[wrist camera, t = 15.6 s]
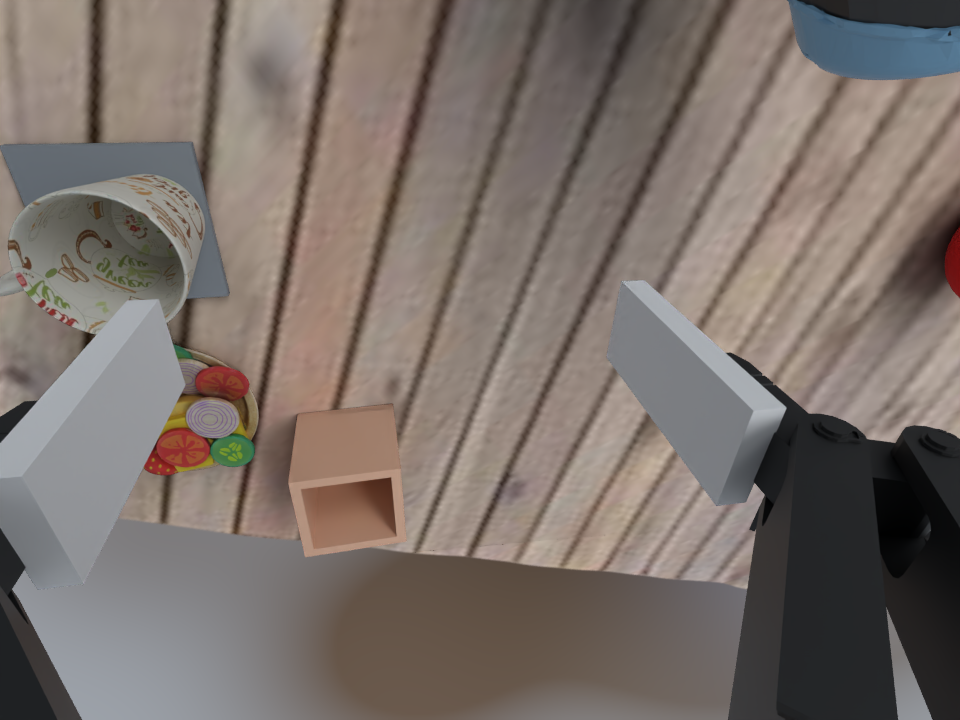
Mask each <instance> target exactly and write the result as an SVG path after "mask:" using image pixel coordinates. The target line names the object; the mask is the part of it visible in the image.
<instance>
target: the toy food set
mask: <svg viewBox="0 0 960 720" xmlns="http://www.w3.org/2000/svg"><path fill="white" fill-rule="evenodd" d="M173 346H174V349H175V352H176V356H177V359H178V362H179V365H180V368H181V372H182V375H183V378H184V381H185V384H186V385H185V387H184V389H183V391H182V393H181V395H180V397H179V399H178V401H177V403H176V405H175V407H174V409H173V410H172V412H171V414H170V416H169V418H168V420H167V422H166V424H165V426H164V428H163V430H162V432H161V434H160V436H159V438H158V440H157V442H156V444H155V446H154V448H153V450H152V452H151V454H150V456H149V457H148V459H147V461H146V463H145V465H144V467H143V468H144V469H145V470H146V471H148V472H150V473H153V474H156V475H172V474H175V473H178V472H183V471H193V470H200V469H206V468H210V467H214V466H217V465H220V464H221V465H224V466H228V467H238V466H242V465H245V464H247V463H248V462H250V461H251V459H252V458H253V456H254V453H255V446H254V444H253V443H252V441H251V440H252V438H253V436H254V434H255V432H256V429H257V425H258V417H259V416H258V406H257V402H256V399H255V396H254V394H253V392H252V391H251V389H250V387H249V382H248V379H247V378H246V377H245V376H244V375H243V374H242V373H241V372H240V371H237V370H235V369H232V368H230V367H229V366H228V365H226V364H225V363H223V362H221V361H220V360H218V359H216V358H214V357H212V356H209V355H207V354H204V353H201V352H198V351H195V350H191V349H186V348H182V347H180V346H177V345H174V344H173Z"/></svg>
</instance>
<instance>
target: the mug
mask: <svg viewBox="0 0 960 720" xmlns="http://www.w3.org/2000/svg"><path fill="white" fill-rule="evenodd" d="M204 234H205V220H204V216H203V213H202V210H201V208H200V206H199V204H198V203H197V201H196V200H195V198H194V197H193V196H192V195H191V194H190V193H189V192H188V191H187V190H186V189H185V188H183V187H182V186H181V185H179V184H178V183H176V182H174V181H172V180H170V179H168V178H165V177H162V176H158V175H152V174H137V175H131V176H126V177H121V178H116V179H111V180H106V181H102V182H97V183H92V184H87V185H82V186H77V187H72V188H67V189H63V190H59V191H56V192H53V193H50V194H47V195H45V196H42V197H40V198H38V199H36V200H35V201H33V202H32V203H30V204H29V205H28V206H27V207H25V208H24V209H23V210H22V212H21V213H20V214H19V215H18V217H17V218H16V220H15V221H14V223H13V225H12V228H11V230H10V234H9V239H8V254H9V260H10V263H11V267H12V269H13V270H11V271H9V272H8V273H6V274H4V275H3V276H1V277H0V296H6V295H11V294H15V293H17V292H20V291H23V290H25V292H26V293H27V294H28V295H29V296H30V298H31V299H32V300H33V301H34V302H35V303H36V304H37V305H39V306H40V307H41V308H42V309H43V310H45V311H46V312H47V313H49V314H50V315H51V316H53V317H54V318H56V319H58V320H60V321H61V322H63V323H65V324H67V325H69V326H71V327H74V328H76V329H79V330H82V331H85V332H88V333H92V334H96V335H97V334H98V333H99V332H100V330H101V329H102V328H103V327H104V326H105V325H106V324H107V323H108V321H109V320H110V319H111V318H112V317H113V316H114V315H115V314H116V312H117V311H118V310H119V309H120V308H121V307H122V306H123V305H124V303H125V302H126V301H127V300H152V299H159V301H160V304H161V308H162V311H163V314H164V317H165V320H166V323H168V322H169V321H170V320H171V319H172V318H173V317H175V316H176V314H177V313H178V312H179V311H180V309H181V308H182V306H183V304H184V302H185V300H186V298H187V296H188V293H189V290H190V286H191V283H192V279H193V275H194V272H195V268H196V264H197V261H198V257H199V253H200V250H201V246H202V242H203V239H204Z"/></svg>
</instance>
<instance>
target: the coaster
mask: <svg viewBox="0 0 960 720" xmlns="http://www.w3.org/2000/svg"><path fill="white" fill-rule="evenodd" d="M0 149H1V151H2V153H3V156H4V158H5V160H6V163H7V165H8V168H9V170H10V172H11V175H12V177H13V179H14V182H15V184H16V186H17V189H18V191H19V193H20V196H21V198H22V200H23V203H24V205H25V207H27V206H28V205H29V204H30V203H32V202H33V201H35V200H36V199H38V198H40V197H42V196H45V195H47V194H50V193H53V192H56V191H59V190H63V189H67V188H72V187H77V186H82V185H87V184H92V183H97V182H102V181H106V180H111V179H116V178H121V177H126V176H131V175H137V174H152V175H158V176H162V177H165V178H168V179H170V180H172V181H174V182H176V183H178V184H179V185H181V186H182V187H183V188H185V189H186V190H187V191H188V192H189V193H190V194H191V195H192V196H193V197H194V198H195V200H196V201H197V203H198V204H199V206H200V208H201V210H202V213H203V216H204V220H205V234H204V239H203V242H202V246H201V250H200V253H199V257H198V261H197V264H196V268H195V272H194V275H193V279H192V283H191V286H190V290H189V293H188V296H187V298H186V299H189V298H205V297H220V296H229V293H230V292H229V288H228V284H227V279H226V275H225V271H224V267H223V263H222V259H221V255H220V251H219V247H218V243H217V239H216V235H215V231H214V227H213V223H212V219H211V215H210V211H209V207H208V203H207V199H206V195H205V191H204V186H203V182H202V178H201V174H200V170H199V166H198V162H197V158H196V154H195V150H194V146H193V142H148V143H70V144H4V145H1V146H0Z"/></svg>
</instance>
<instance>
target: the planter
mask: <svg viewBox="0 0 960 720" xmlns="http://www.w3.org/2000/svg"><path fill="white" fill-rule="evenodd" d="M288 485H289V489H290V493H291V498H292V502H293V506H294V511H295V515H296V519H297V523H298V528H299V532H300V536H301V541H302V545H303V549H304V554H305V557H310V556H316V555H323V554H329V553H336V552H342V551H349V550H355V549H361V548H368V547H374V546H380V545H387V544H393V543H399V542H406V529H405V516H404V504H403V491H402V479H401V467H400V459H399V451H398V442H397V434H396V426H395V418H394V409H393V404H384V405H375V406H366V407H356V408H347V409H338V410H329V411H319V412H310V413H301V414H298V416H297V423H296V430H295V437H294V444H293V452H292V459H291V466H290V473H289V481H288Z"/></svg>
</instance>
